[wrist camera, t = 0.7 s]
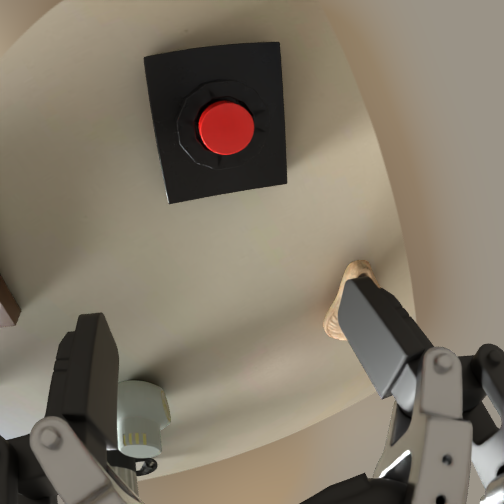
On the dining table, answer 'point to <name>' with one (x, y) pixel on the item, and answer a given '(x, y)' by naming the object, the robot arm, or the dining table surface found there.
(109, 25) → the dining table surface
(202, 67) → the switch block
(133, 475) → the milk frother
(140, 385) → the air freshener
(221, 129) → the light button
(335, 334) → the pottery oil lamp
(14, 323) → the dimmer panel
